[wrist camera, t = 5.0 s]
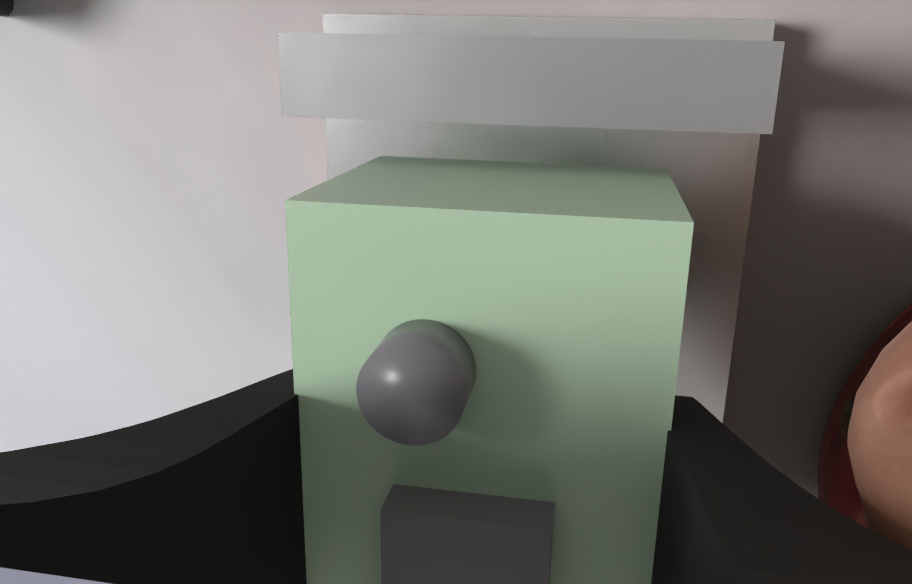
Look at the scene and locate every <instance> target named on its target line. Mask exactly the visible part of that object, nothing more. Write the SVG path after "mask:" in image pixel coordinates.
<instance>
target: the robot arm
mask: <svg viewBox="0 0 912 584" xmlns="http://www.w3.org/2000/svg"><path fill="white" fill-rule="evenodd" d="M0 584H307V579H306V556H305V534H304V512H303V490H302V467H301V445H300V423H299V401H298V394H294V378H293V369H292V370H289V371H286V372H283V373H280V374H278V375H275V376H272V377H270V378H267V379H265V380H262V381H259V382H257V383H254V384H252V385H249V386H246V387H244V388H241V389H239V390H236V391H234V392H231V393H228V394H226V395H223V396H221V397H218V398H215V399H212V400H209V401H207V402H204V403H201V404H198V405H195V406H192V407H189V408H186V409H184V410H181V411H178V412H175V413H172V414H169V415H166V416H163V417H160V418H157V419H154V420H151V421H147V422H144V423H140V424H137V425H133V426H130V427H126V428H122V429H118V430H114V431H110V432H106V433H102V434H98V435H94V436H89V437H85V438H80V439H75V440H70V441H64V442H58V443H53V444H47V445H42V446H36V447H31V448H25V449H20V450H14V451H8V452H1V453H0ZM651 584H912V551H911V550H909V549H907V548H905V547H903V546H901V545H899V544H897V543H895V542H893V541H891V540H888V539H886V538H885V537H883V536H881V535H879V534H877V533H875V532H873V531H871V530H870V529H868V528H866V527H864V526H862V525H860V524H859V523H857V522H855V521H854V520H852V519H850V518H849V517H847V516H845V515H844V514H842V513H840V512H839V511H837V510H835V509H834V508H832V507H830V506H829V505H827V504H825V503H824V502H822V501H821V500H819V499H818V498H816V497H815V496H813V495H812V494H810V493H808V492H807V491H806V490H804V489H803V488H801V487H800V486H799V485H797V484H796V483H794V482H793V481H792V480H790V479H789V478H788V477H786V476H785V475H784V474H782V473H781V472H780V471H778V470H777V469H776V468H774V467H773V466H772V465H770V464H769V463H768V462H767V461H765V460H764V459H763V458H762V457H760V456H759V455H758V454H757V453H756V452H754V451H753V450H752V449H751V448H750V447H748V446H747V445H746V444H745V443H744V442H743V441H741V440H740V439H739V438H738V437H737V436H736V435H735V434H734V433H732V432H731V431H730V430H729V429H728V428H727V427H726V426H725V425H724V424H723V423H721V422H720V421H719V420H718V419H717V418H716V417H715V416H714V415H713V414H712V413H711V412H710V411H708V410H707V409H706V408H705V407H704V406H703V405H702V404H701V403H700V402H698V401H697V400H696V399H695V398H693V397H689V396H678V395H675V400H674V409H673V418H672V427H671V431H669V430H668V432H667V441H666V451H665V460H664V469H663V478H662V488H661V497H660V506H659V515H658V524H657V534H656V543H655V552H654V561H653V571H652V580H651Z"/></svg>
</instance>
